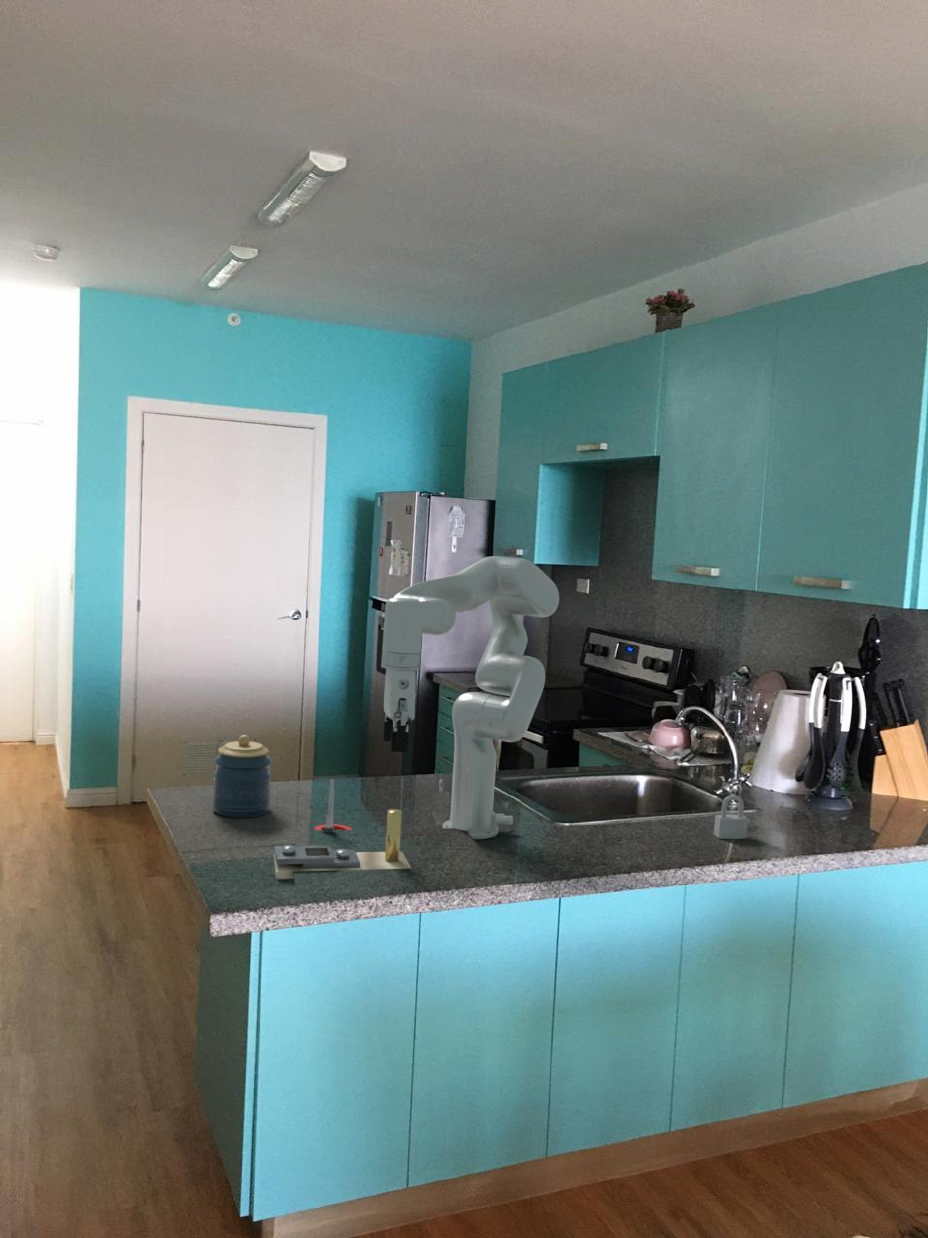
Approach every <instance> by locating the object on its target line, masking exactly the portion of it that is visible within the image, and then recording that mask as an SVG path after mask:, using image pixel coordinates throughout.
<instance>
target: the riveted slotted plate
mask: <svg viewBox="0 0 928 1238" xmlns="http://www.w3.org/2000/svg"><path fill="white" fill-rule="evenodd" d="M273 854H275V858H276V863H277V864H302V867H303V869H316V868H358V867H360V861H359V859H358V856H357V854H356V850H355V849H345V848H341V849H340V848H339V849H332V846H331V845H330V844H327V845H320V844H319V845H289V844H286V845H277V846H275V845H274V848H273Z"/></svg>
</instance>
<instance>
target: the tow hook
mask: <svg viewBox="0 0 928 1238" xmlns="http://www.w3.org/2000/svg"><path fill="white" fill-rule="evenodd" d="M329 783H330V784H329V789H328V795H327V810H326V811H327V812H326V815H325V824H321V825H317V826H315V827H314V831H322V833H323V834H334V832H335V830H338V829H341V830H340V831H344V830H345V831H346V830H347V831H350V830H351V831H352V830H353V828H352V827H350V826H347V825H344V824H335V823H334V800H335V789H334V788H335V779H330V782H329Z"/></svg>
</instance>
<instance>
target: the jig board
mask: <svg viewBox="0 0 928 1238" xmlns="http://www.w3.org/2000/svg"><path fill="white" fill-rule="evenodd" d="M355 852H356V851H355ZM356 854H357V856H358V859H359V861H360V867H358V868H316V869H303V867H302V864H277V863H276V858H275V853H273V855H272V856H273V857H272V859H273V860H272V862H273V867H274V873H275V877H276V880H294V879H295V875H294V872H321V871H322V872H323V871H324V872H326V871H328V872H329V871H364V870H368V871H369V870H370V871H371V870H402V869H403V870H408V869H410V870H411V869H412V867H411V865H410V863H409V861H408V859H407V857H406V856H405V854H404V853H403V851H401V850H400V851H399V861H398V862H387V861H385V851H363V852H362V851H361V852H359V851H358V852H356Z"/></svg>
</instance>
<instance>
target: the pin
mask: <svg viewBox="0 0 928 1238" xmlns="http://www.w3.org/2000/svg"><path fill="white" fill-rule="evenodd" d="M402 813H403V811H402V810H401V809H395V808H390V809H388V810H387V816H386V818H387V819H386V836H385V848H384V849H385V851H384V852H385V861H387V862H398V861H399V852H400V851H401V850H400V847H401V828H402Z"/></svg>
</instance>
